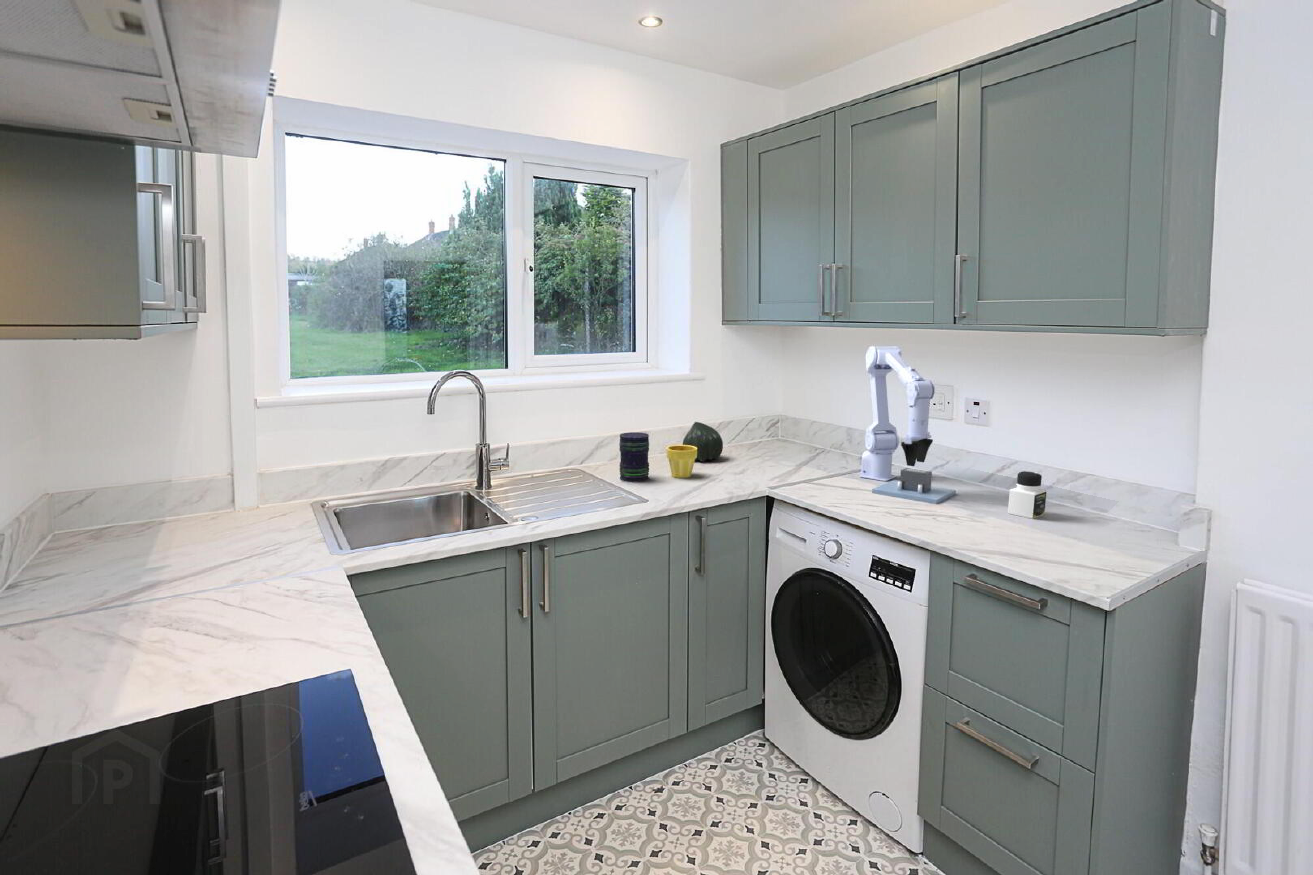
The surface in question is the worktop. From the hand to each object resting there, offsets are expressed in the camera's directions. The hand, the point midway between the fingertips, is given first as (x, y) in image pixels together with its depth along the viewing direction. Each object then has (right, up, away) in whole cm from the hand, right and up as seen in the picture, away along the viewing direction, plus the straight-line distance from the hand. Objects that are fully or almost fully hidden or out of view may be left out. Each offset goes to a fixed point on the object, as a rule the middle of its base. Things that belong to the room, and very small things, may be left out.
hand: (915, 463), depth 232 cm
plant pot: (-71, -5, +24) cm, 75 cm away
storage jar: (-87, -6, +20) cm, 90 cm away
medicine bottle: (+24, -14, -21) cm, 34 cm away
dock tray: (0, -9, +2) cm, 9 cm away
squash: (-63, -1, +51) cm, 81 cm away
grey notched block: (0, -8, +1) cm, 8 cm away
